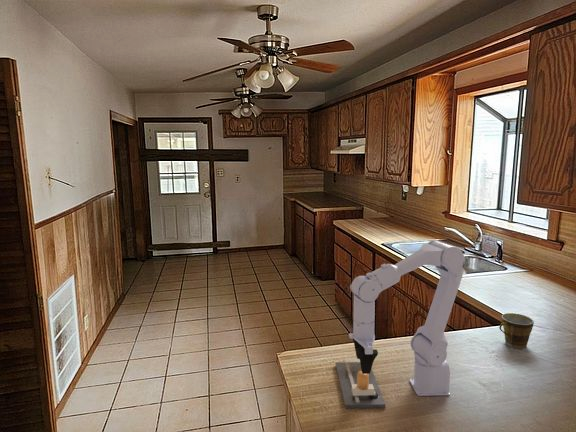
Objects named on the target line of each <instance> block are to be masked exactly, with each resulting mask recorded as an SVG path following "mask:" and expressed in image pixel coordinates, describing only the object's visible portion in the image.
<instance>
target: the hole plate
mask: <svg viewBox="0 0 576 432" xmlns="http://www.w3.org/2000/svg"><path fill="white" fill-rule="evenodd" d="M335 368H336V369H335V370H336V372H337V373H336V375H337V377H338V381H339V387H340V391H341V394H342V401H343V404H344V407H345V409H346V410H350V409H351V410H353V409H354V410H356V409H357V410H358V409H361V410H362V409H363V410H365V409H386V402H385V400H384V397H383V394H382V392H381V390H380V387H379V384H378V382H377V379H376V377H375V373H374V371H373V368H371V372H370V374H369V384H373V387H374V391H375V395H357V396H353V394H352V384H357V372H358V371H362V370H361V364H360V359H357V357H353V358H352V357H351V358H350V357H349V358H347V357H346V358H344V361H343V362H335Z"/></svg>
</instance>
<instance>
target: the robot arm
mask: <svg viewBox="0 0 576 432" xmlns="http://www.w3.org/2000/svg"><path fill="white" fill-rule="evenodd" d="M465 260H466V256H465V255H464V253H463V252H462V250H461V249H460V248H459V247H457V246H454V245H450V244H447V243H445V242H441V241H439V240H437V239H433V240H430V241H428V242H426V243H423V244H422V246H421V247H420V249H417V250H416V251H415V252H413V253H412V254H410V255H408V256H406V257H405V258H403V259H401V260H400V261H398V262H397V263H395V264H391V263H382V264H381V265H380V267H379V268H377V269H375V270H373V271H372V272H371V271H370V272H367V273H365V274H366V275H359V276H357V277H355V278H353V280H352V281H351V284H350V285H349V288H350V292H352V294H353V313H352V314H353V317H352V318H353V319H352V320H353V326H352V327H353V331H352V333H351V332H350V333H348V337H349V339H351V340H352V341H353V344H354V349H355V355H356V358H357V359H360V364H361V370H362V373H363V374H370V372H371V369H373V364H374V362H375V360H376V358H377V356H379V355H378V354H379V351H378V349H374V343H375V339H376V335H375V315H376V313H375V311H376V310H375V307H376V305H375V304H376V302H375V301H376V300H377V299H378V297H379V295H380V293H382V292H383V291H385V290H386V289H389V288H391V287H392V286H394V285H395V284H397V283H399V282H400V281H401V277H402V276H404V275H406V274H408V273H410V272H412V271H414V270H417V269H419V268H421V267H424V266H426V265H427V266H433V267H435V268H436V269H437V271H438V273H439V275H440V276H439V280H438V283H437V286H436V288H435V289H436V290H435V292H434V295H433V298H432V302H431V304H430V308H429V311H428V313H427V317H426V321H425V323H424V324H423V325H421V326H419V327H418V328H417V330H416V332H415V333H414V334H413V336H412V338H411V339H410V347H411V349H412V351H413V353H414V354H413V355H414V370H413V371H414V373H413V375H414V376H413V378H409V380H408V381H409V383H410V384H411V386H412V389H413V390H414V392H415V394H416V395H417V396H418V397H419V396H421V397H424V396H425V397H426V396H427V397H428V396H450V395H451V393H450V381H451V380H450V377H451V373H450V372H451V371H450V369H451V368H450V366H449V363H448V361H447V360H446V359H447V356H448V353H447V350H448V344H449V343H448V339H447V338H446V336H445V331H446V330H445V329H446V327H447V324H448V321H449V318H450V315H451V313H452V308H453V306H454V302H455V300H456V297H457V294H458V291H459V288H460V285H461V282H462V279H463V274H464V273H463V265H464V263H465Z"/></svg>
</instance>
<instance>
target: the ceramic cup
mask: <svg viewBox="0 0 576 432" xmlns="http://www.w3.org/2000/svg"><path fill="white" fill-rule="evenodd" d="M501 321H502V322H501V323H500V325H499V330H500V332H502V333H503V334H504V341H505V345H506V346H508V347H510V348H512V349H518V350H522V349H526V348H527V345H528V342H529V339H530V336H531V333H532V331H533V327H534V324H535V320H533V318H531V317H530V316H527V315H524V314H521V313H514V312H511V313H510V312H507V313H504V314H502V315H501ZM502 327H503V328H502Z"/></svg>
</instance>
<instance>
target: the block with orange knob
mask: <svg viewBox="0 0 576 432" xmlns="http://www.w3.org/2000/svg"><path fill="white" fill-rule="evenodd" d="M352 394H353V396H357V395H375V391H374V387H373V384H369V374H363V373H362V371H358V372H357V384H352Z"/></svg>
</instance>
